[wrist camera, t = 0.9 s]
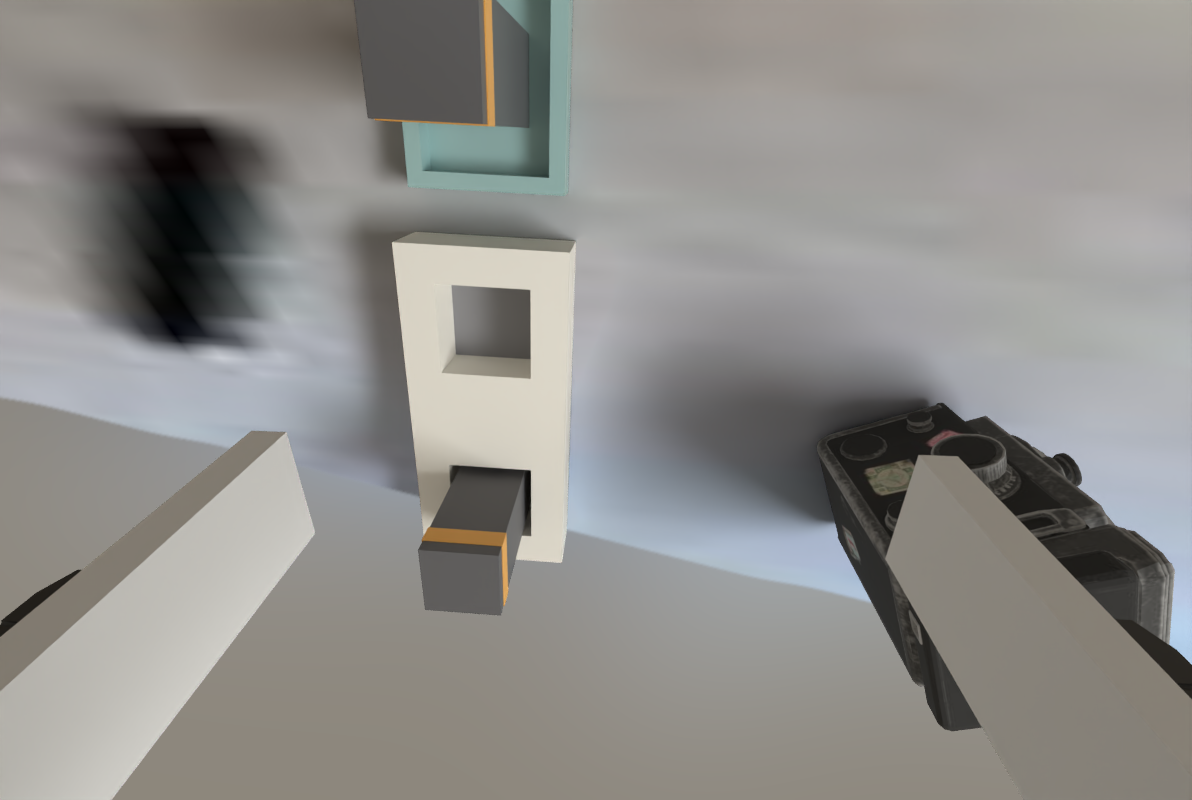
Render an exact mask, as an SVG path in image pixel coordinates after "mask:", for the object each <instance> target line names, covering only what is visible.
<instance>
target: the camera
mask: <svg viewBox="0 0 1192 800" xmlns="http://www.w3.org/2000/svg"><path fill="white" fill-rule="evenodd" d="M817 452H818V454H819V458H820V462H821V466H822V470H823V474H824V478H825V483H826V487H827V491H828V495H829V499H830V503H831V507H832V511H833V515H834V520H835V524H836V528H837V532H838V539H839V541H840V543H841V545H842V547H843V548H844V550H845V552H846V554H847V556H848V558H849V560H850V562H851V564H852V566H853V567H854V569H855V571H856V573H857V575H858V577H859V579H860V581H861V583H862V585H863V587H864V588H865V590H866V592H867V594H868V596H869V598H870V600H871V602H872V604H873V606H874V607H875V609H876V611H877V613H878V615H879V617H880V619H881V621H882V623H883V625H884V626H885V628H886V630H887V632H888V634H889V636H890V638H891V640H892V642H893V643H894V645H895V647H896V649H897V651H898V653H899V655H900V657H901V659H902V660H903V662H904V665H905V666H906V668H907V670H908V672H909V674H910V676H911V678H912V680H913V681H914V682H915V683H916V684H917V685H918V686H920V687H922V686H924V687H925V693H926V698H927V703H928V705H929V707H930V709H931V711H932V712H933V714H934V716H935V718H936V720H937V722H938V724H939V725H940V726H942V727H943V728H944V729H946V730H950V731H958V730H965V729H973V728H982V727H981V725H980V723H979V722H978V720H977V718H976V716H975V715H974V713H973V711H972V709H971V708H970V706H969V704H968V702H967V701H966V699H965V697H964V695H963V694H962V692H961V690H960V688H959V687H958V685H957V683H956V681H955V680H954V678H953V676H952V674H951V673H950V671H949V669H948V668H947V666H946V664H945V662H944V661H943V659H942V657H941V655H940V654H939V652H938V650H937V648H936V647H935V645H934V643H933V641H932V640H931V638H930V636H929V634H928V633H927V631H926V629H925V627H924V626H923V624H922V622H921V620H920V619H919V617H918V615H917V613H916V612H915V610H914V608H913V607H912V605H911V603H910V601H909V600H908V598H907V596H906V594H905V593H904V591H903V589H902V587H901V586H900V584H899V582H898V580H897V579H896V577H895V575H894V573H893V572H892V570H891V568H890V566H889V565H888V563H887V561H886V559H885V558H886V555H887V552H888V549H889V546H890V543H891V539H892V536H893V533H894V530H895V527H896V524H897V521H898V518H899V514H900V511H901V508H902V505H903V502H904V499H905V496H906V493H907V489H908V486H909V483H910V480H911V477H912V474H913V471H914V468H915V464H916V461H917V458H918V455H934V456H958V457H959V458H960V459H961V460H962V461H963V462H964V463H965V464H966V465H967V467H968V468H969V469H970V470H971V471H972V472H973V473H974V474H975V475H976V476H977V477H978V478H979V479H980V480H981V481H982V482H983V483H984V484H985V485H986V486H987V487H988V488H989V489H990V490H991V491H992V492H993V494H994V495H995V496H996V497H997V498H998V499H999V500H1000V501H1001V502H1002V503H1003V504H1004V505H1005V506H1006V507H1007V508H1008V509H1009V510H1010V511H1011V512H1012V513H1013V514H1014V515H1015V516H1016V517H1017V518H1018V519H1019V521H1020V522H1021V523H1022V524H1023V525H1024V526H1025V527H1026V528H1027V529H1028V530H1029V531H1030V532H1031V533H1032V534H1033V535H1034V536H1035V537H1036V538H1037V539H1038V540H1039V541H1040V542H1041V543H1042V544H1043V545H1044V546H1045V548H1046V549H1047V550H1048V551H1049V552H1050V553H1051V554H1052V555H1053V556H1054V557H1055V558H1056V559H1057V560H1058V561H1059V562H1060V563H1061V564H1062V565H1063V566H1064V567H1065V568H1066V569H1067V570H1068V571H1069V572H1070V573H1071V575H1072V576H1073V577H1074V578H1075V579H1076V580H1077V581H1078V582H1079V583H1080V584H1081V585H1082V586H1083V587H1084V588H1085V589H1086V590H1087V591H1088V592H1089V593H1090V594H1091V595H1092V596H1093V597H1094V598H1095V599H1096V600H1097V602H1098V603H1099V604H1100V605H1101V606H1102V607H1103V608H1104V609H1105V610H1106V611H1107V612H1108V613H1109V614H1110V615H1111V616H1112V617H1113V618H1114V619H1122V620H1133V621H1134V622H1136V623H1137V624H1139V625H1140V626H1142V627H1143V628H1145V629H1146V630H1148V631H1149V632H1151V633H1152V634H1154V635H1155V636H1157V637H1158V638H1160V639H1161V640H1163V641H1164V642H1166V643H1167V644H1168V645H1169V640H1170V627H1171V614H1172V600H1173V587H1174V574H1175V570H1174V568H1173V566H1172V564H1171V563H1170V562H1169V561H1168V560H1167V559H1166V557H1165V556H1164V554H1163V553H1162V552H1160V551H1159V550H1158V549H1157V548H1155V547H1154V546H1153V545H1152V544H1150V543H1149V542H1148V541H1146V540H1145V539H1144V538H1143V537H1141V536H1140V535H1139V534H1138V533H1136V532H1135V531H1130V530H1126V529H1125V528H1120V527H1117V526H1115V525H1114V523H1113V522H1112V521H1111V520H1110V518H1109V517H1108V516H1107V515H1106V514H1105V512H1104V510H1103V508H1102V507H1101V505H1100V504H1098V503H1097V502H1096V501H1094V500H1093V499H1092V498H1091V497H1089V496H1088V495H1087V494H1085V493H1084V492H1083V491H1082V490H1080V489H1079V488H1078V487H1076V486H1079V485H1080V484H1081V481H1082V476H1081V472H1080V470H1079V467H1078V465H1077V464H1076V463H1075V461H1074V460H1073V459H1072V458H1071V457H1070V456H1069V455H1067V454H1065V453H1060V454H1056V455H1055V456H1054V457H1053V458H1051V457H1047V456H1046V455H1045V454H1044V453H1043V452H1041V451H1039V450H1038V449H1036V448H1035V447H1032V446H1031V445H1030V444H1029V443H1027V442H1026V441H1024V440H1022V439H1020V438H1018V437H1016V436H1014V435H1010V434H1008V433H1007V432H1006V431H1005V430H1003V429H1002V428H1001V427H999V426H998V425H997V424H996V423H994V422H993V421H992V420H990V419H989V418H988V417H987V416H984V417H980V418H977V419H973V420H969V421H966V422H965V421H964V420H962V419H961V418H960V417H959V416H958V415H956V414H955V413H954V412H953V411H952V410H950V409H949V408H948V407H947V406H946V405H945V404H943V403H938V404H937V405H935V406H931V407H928V408H924V409H920V410H917V411H913V412H910V413H906V414H902V415H899V416H895V417H891V418H888V419H884V420H881V421H877V422H873V423H870V424H866V425H863V426H859V427H855V428H852V429H848V430H844V431H841V432H837V433H834V434H830V435H828V436H826V437H824V438H823V439H821V440H820V441H819V442H818V445H817Z"/></svg>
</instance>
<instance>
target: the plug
mask: <svg viewBox="0 0 1192 800" xmlns="http://www.w3.org/2000/svg"><path fill="white" fill-rule="evenodd" d="M354 4H355V12H356V21H357V30H358V38H359V47H360V55H361V64H362V73H363V81H364V90H365V98H366V107H367V115H368V118H373V119H375V120H380V121H397V122H416V123H435V124H454V125H473V126H492V127H495V126H500V127H519V128H529V34H528V33H527V32H526V31H525V30H524V28H523V27H522V26H521V25H520V24H519V23H518V22H517V21H516V20H515V19H514V18H513V17H512V16H511V15H510V14H509V13H508V12H507V11H506V10H505V9H504V8H503V7H502V6H501V5H500V4H499V2H498V1H497V0H354Z"/></svg>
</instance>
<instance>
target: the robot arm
mask: <svg viewBox="0 0 1192 800" xmlns="http://www.w3.org/2000/svg"><path fill="white" fill-rule="evenodd" d="M314 534H315V530H314V527H313V524H312V520H311V517H310V513H309V510H308V506H307V503H306V499H305V496H304V493H303V489H302V485H301V482H300V478H299V475H298V471H297V468H296V464H295V461H294V457H293V454H292V450H291V447H290V443H289V440H288V436H287V433H286V432H267V431H251V432H250V433H248V434H247V435H246V436H245V437H244V438H242V439H241V440H240V441H239V442H238V443H236V444H235V445H234V446H233V447H231V448H230V449H229V450H228V451H227V452H225V453H224V454H223V455H222V456H220V457H219V458H218V459H217V460H216V461H214V462H213V463H212V464H211V465H209V466H208V467H207V468H206V469H205V470H203V471H202V472H201V473H200V474H199V475H197V476H196V477H195V478H194V479H192V480H191V481H190V482H189V483H188V484H186V485H185V486H184V487H183V488H182V489H180V490H179V491H178V492H177V493H175V494H174V495H173V496H172V497H171V498H169V499H168V500H167V501H166V502H164V503H163V504H162V505H161V506H160V507H158V508H157V509H156V510H155V511H153V512H152V513H151V514H150V515H148V516H147V517H146V518H145V519H144V520H142V521H141V522H140V523H139V524H138V525H136V526H135V527H134V528H133V529H131V530H130V531H129V532H128V533H127V534H125V535H124V536H123V537H122V538H121V539H119V540H118V541H117V542H116V543H114V544H113V545H112V546H111V547H110V548H108V549H107V550H106V551H105V552H103V553H102V554H101V555H100V556H98V557H97V558H96V559H95V560H94V561H92V562H91V563H90V564H89V565H88V566H86V567H85V568H84V569H83V570H76V571H75V572H73V573H71V574H69V575H68V576H66V577H64V578H62V579H60V580H58V581H57V582H55V583H53V584H51V585H49V586H48V587H46V588H44V589H42V590H40V591H39V592H37V593H35V594H34V595H33V596H32V597H30V598H29V599H28V600H27V601H25V602H24V603H23V604H22V605H20V606H19V607H18V608H17V609H15V610H14V611H13V612H11V613H10V614H9V615H8V616H6V617H5V618H4V619H3V620H2V623H1V625H0V800H112V798H113V797H114V796H115V795H116V793H117V792H118V791H119V789H120V788H121V787H122V785H123V784H124V783H125V781H126V780H127V779H128V777H129V776H130V775H131V773H132V772H133V771H134V770H135V768H136V767H137V766H138V764H139V763H140V762H141V761H142V759H143V758H144V757H145V755H146V754H147V753H148V751H149V750H150V749H151V747H152V746H153V745H154V744H155V742H156V741H157V740H158V738H159V737H160V735H161V734H162V733H163V732H164V730H165V729H166V728H167V727H168V725H169V724H170V723H171V721H172V720H173V719H174V717H175V716H176V715H177V713H178V712H179V711H180V709H181V708H182V707H183V706H184V704H185V703H186V702H187V700H188V699H189V698H190V696H191V695H192V694H193V692H194V691H195V690H196V689H197V687H198V686H199V685H200V683H201V682H202V681H203V679H204V678H205V677H206V676H207V674H208V673H209V672H210V670H211V669H212V668H213V666H214V665H215V664H216V662H217V661H218V660H219V659H220V657H221V656H222V655H223V653H224V652H225V651H226V649H227V648H228V647H229V645H230V644H231V643H232V641H233V640H234V639H235V638H236V636H237V634H239V632H240V631H241V630H242V628H243V627H244V626H245V624H246V623H247V622H248V621H249V619H250V618H251V617H252V615H253V614H254V613H255V611H256V610H257V609H258V607H259V606H260V605H261V604H262V602H263V601H264V600H265V598H266V597H267V596H268V594H269V593H270V592H271V591H272V589H273V588H274V586H275V585H276V584H277V583H278V581H279V580H280V579H281V577H282V576H283V575H284V574H285V572H286V571H287V570H288V568H289V567H290V565H291V564H292V563H293V562H294V560H295V559H296V558H297V557H298V555H299V554H300V553H301V551H302V550H303V549H304V547H305V546H306V545H307V543H308V542H309V541H310V540H311V538H312V537H313V536H314ZM885 559H886V561H887V563H888V565H889V566H890V568H891V570H892V572H893V573H894V575H895V577H896V579H897V580H898V582H899V584H900V586H901V587H902V589H903V591H904V593H905V594H906V596H907V598H908V600H909V601H910V603H911V605H912V607H913V608H914V610H915V612H916V613H917V615H918V617H919V619H920V620H921V622H922V624H923V626H924V627H925V629H926V631H927V633H928V634H929V636H930V638H931V640H932V641H933V643H934V645H935V647H936V648H937V650H938V652H939V654H940V655H941V657H942V659H943V661H944V662H945V664H946V666H947V668H948V669H949V671H950V673H951V674H952V676H953V678H954V680H955V681H956V683H957V685H958V687H959V688H960V690H961V692H962V694H963V695H964V697H965V699H966V701H967V702H968V704H969V706H970V708H971V709H972V711H973V713H974V715H975V716H976V718H977V720H978V722H979V723H980V725H981V727H982V728H983V730H984V732H985V734H986V735H987V737H988V739H989V741H990V742H991V744H992V746H993V748H994V749H995V751H996V753H997V754H998V756H999V758H1000V760H1001V762H1002V763H1003V765H1004V767H1005V769H1006V770H1007V772H1008V774H1009V775H1010V777H1011V779H1012V781H1013V782H1014V784H1015V786H1016V788H1017V789H1018V791H1019V793H1020V795H1021V796H1022V798H1023V800H1192V665H1191V664H1190V663H1189V662H1188V661H1187V660H1186V659H1185V658H1184V657H1183V656H1182V655H1181V654H1180V653H1179V652H1178V651H1177V650H1176V649H1174V648H1173V647H1171V646H1170V645H1168V644H1167V643H1166V642H1164V641H1163V640H1161V639H1160V638H1158V637H1157V636H1155V635H1154V634H1152V633H1151V632H1149V631H1148V630H1146V629H1145V628H1143V627H1142V626H1140V625H1139V624H1137V623H1136V622H1134V621H1133V620H1122V619H1114V618H1113V617H1112V616H1111V615H1110V614H1109V613H1108V612H1107V611H1106V610H1105V609H1104V608H1103V607H1102V606H1101V605H1100V604H1099V603H1098V602H1097V600H1096V599H1095V598H1094V597H1093V596H1092V595H1091V594H1090V593H1089V592H1088V591H1087V590H1086V589H1085V588H1084V587H1083V586H1082V585H1081V584H1080V583H1079V582H1078V581H1077V580H1076V579H1075V578H1074V577H1073V576H1072V575H1071V573H1070V572H1069V571H1068V570H1067V569H1066V568H1065V567H1064V566H1063V565H1062V564H1061V563H1060V562H1059V561H1058V560H1057V559H1056V558H1055V557H1054V556H1053V555H1052V554H1051V553H1050V552H1049V551H1048V550H1047V549H1046V548H1045V546H1044V545H1043V544H1042V543H1041V542H1040V541H1039V540H1038V539H1037V538H1036V537H1035V536H1034V535H1033V534H1032V533H1031V532H1030V531H1029V530H1028V529H1027V528H1026V527H1025V526H1024V525H1023V524H1022V523H1021V522H1020V521H1019V519H1018V518H1017V517H1016V516H1015V515H1014V514H1013V513H1012V512H1011V511H1010V510H1009V509H1008V508H1007V507H1006V506H1005V505H1004V504H1003V503H1002V502H1001V501H1000V500H999V499H998V498H997V497H996V496H995V495H994V494H993V492H992V491H991V490H990V489H989V488H988V487H987V486H986V485H985V484H984V483H983V482H982V481H981V480H980V479H979V478H978V477H977V476H976V475H975V474H974V473H973V472H972V471H971V470H970V469H969V468H968V467H967V465H966V464H965V463H964V462H963V461H962V460H961V459H960V458H959V457H958V456H934V455H918V458H917V461H916V464H915V468H914V471H913V474H912V477H911V480H910V483H909V486H908V489H907V493H906V496H905V499H904V502H903V505H902V508H901V511H900V514H899V518H898V521H897V524H896V527H895V530H894V533H893V536H892V539H891V543H890V546H889V549H888V552H887V555H886V558H885Z"/></svg>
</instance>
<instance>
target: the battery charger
mask: <svg viewBox="0 0 1192 800" xmlns="http://www.w3.org/2000/svg"><path fill="white" fill-rule="evenodd" d="M392 248H393V257H394V266H395V276H396V285H397V294H398V303H399V312H400V321H401V331H402V340H403V349H404V358H405V367H406V376H407V386H408V395H409V404H410V413H411V422H412V431H413V441H414V450H415V459H416V468H417V477H418V486H419V495H420V505H421V514H422V522H423V532H424V536H423V538H422V544H421V545H420V547H419V549H418V553H419V562H420V570H421V579H422V587H423V596H424V605H425V610H435V611H448V612H462V613H475V614H489V615H501V613H502V609H503V606H504V605H505V602H506V598H507V595H508V587H509V582H510V579H511V575H512V571H513V567H514V564H515V560H530V561H544V562H558V563H562V558H563V551H564V545H565V539H566V532H567V510H568V478H569V446H570V414H571V382H572V350H573V318H574V286H575V254H576V241H567V240H550V239H533V238H515V237H498V236H481V235H463V234H446V233H429V232H413V233H411V234H409V235H407V236H405V237H402V238H400V239H398V240H396V241H393V242H392Z"/></svg>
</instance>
